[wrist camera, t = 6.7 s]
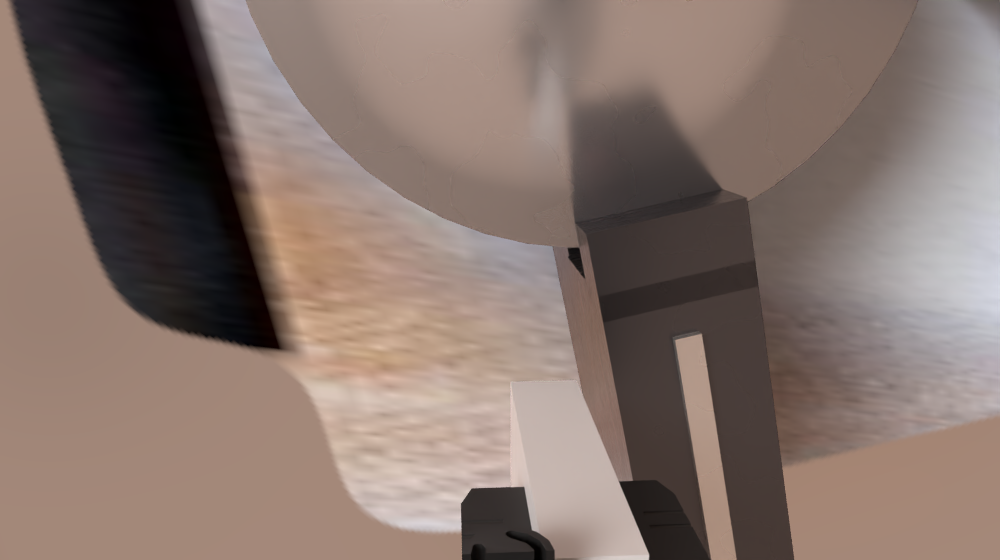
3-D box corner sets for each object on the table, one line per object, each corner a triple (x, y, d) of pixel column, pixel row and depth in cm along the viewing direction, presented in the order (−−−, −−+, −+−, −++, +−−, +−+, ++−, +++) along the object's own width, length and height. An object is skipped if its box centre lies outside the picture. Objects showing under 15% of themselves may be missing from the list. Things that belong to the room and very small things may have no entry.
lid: (849, -536, 16) (1004, -770, 12) (923, 436, 22) (1044, 523, 18) (156, -394, 16) (48, -578, 12) (422, 556, 22) (418, 674, 18)
